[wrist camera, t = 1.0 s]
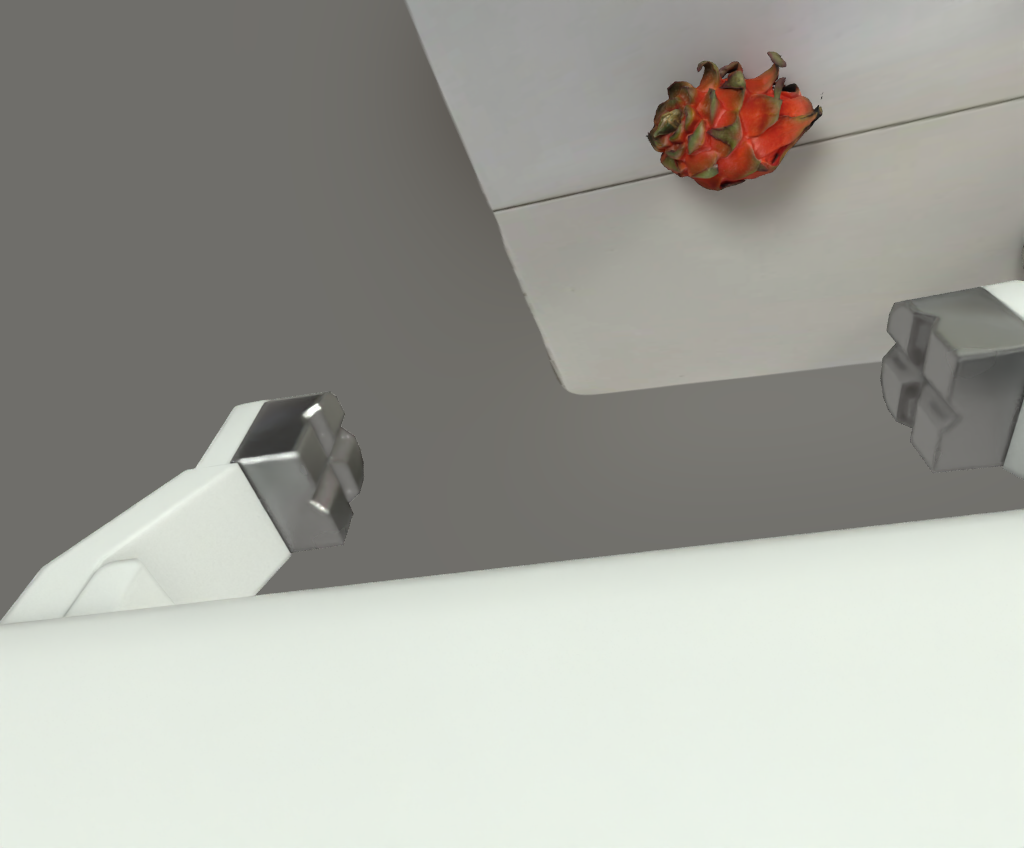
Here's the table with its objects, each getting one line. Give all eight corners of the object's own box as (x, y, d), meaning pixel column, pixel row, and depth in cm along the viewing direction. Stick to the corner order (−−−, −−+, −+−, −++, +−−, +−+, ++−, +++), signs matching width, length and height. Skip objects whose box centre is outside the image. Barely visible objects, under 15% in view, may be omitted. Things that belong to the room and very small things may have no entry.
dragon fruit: (634, 84, 51) (796, 59, 50) (643, 200, 54) (796, 179, 53) (649, 62, 43) (842, 31, 42) (658, 199, 46) (840, 174, 45)
